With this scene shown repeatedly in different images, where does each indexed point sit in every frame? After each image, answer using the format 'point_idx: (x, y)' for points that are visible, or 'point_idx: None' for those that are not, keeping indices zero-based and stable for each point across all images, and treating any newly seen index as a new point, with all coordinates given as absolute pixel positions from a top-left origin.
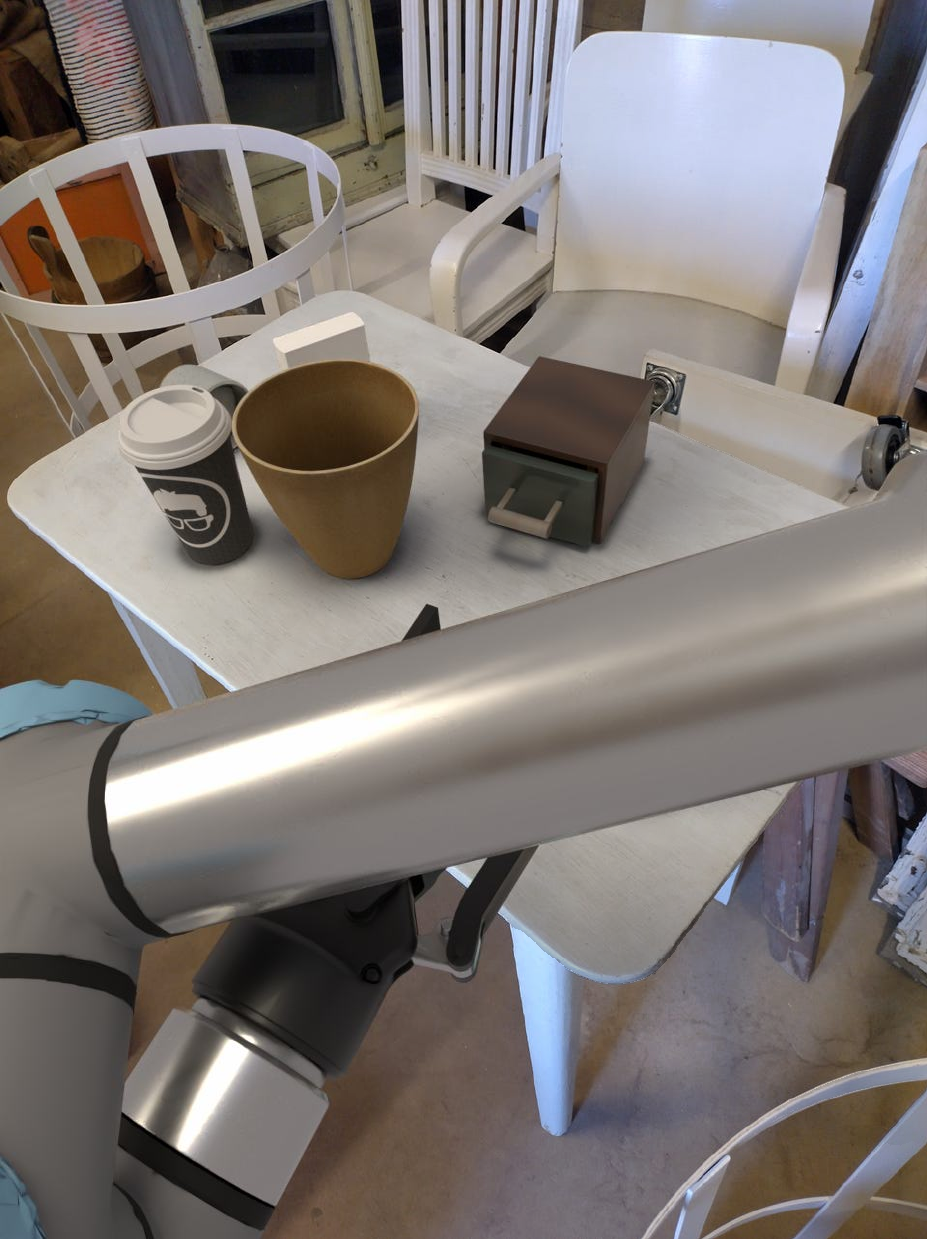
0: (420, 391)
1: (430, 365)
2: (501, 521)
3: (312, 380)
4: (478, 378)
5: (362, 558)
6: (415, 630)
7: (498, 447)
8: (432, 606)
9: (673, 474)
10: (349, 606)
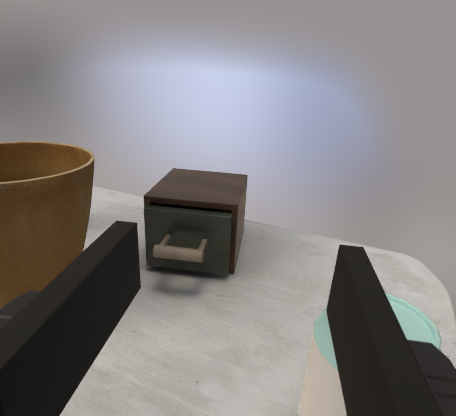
0: (92, 209)
1: (99, 198)
2: (164, 253)
3: (2, 156)
4: (130, 202)
5: None
6: (98, 248)
7: None
8: (127, 222)
9: (263, 235)
10: None
